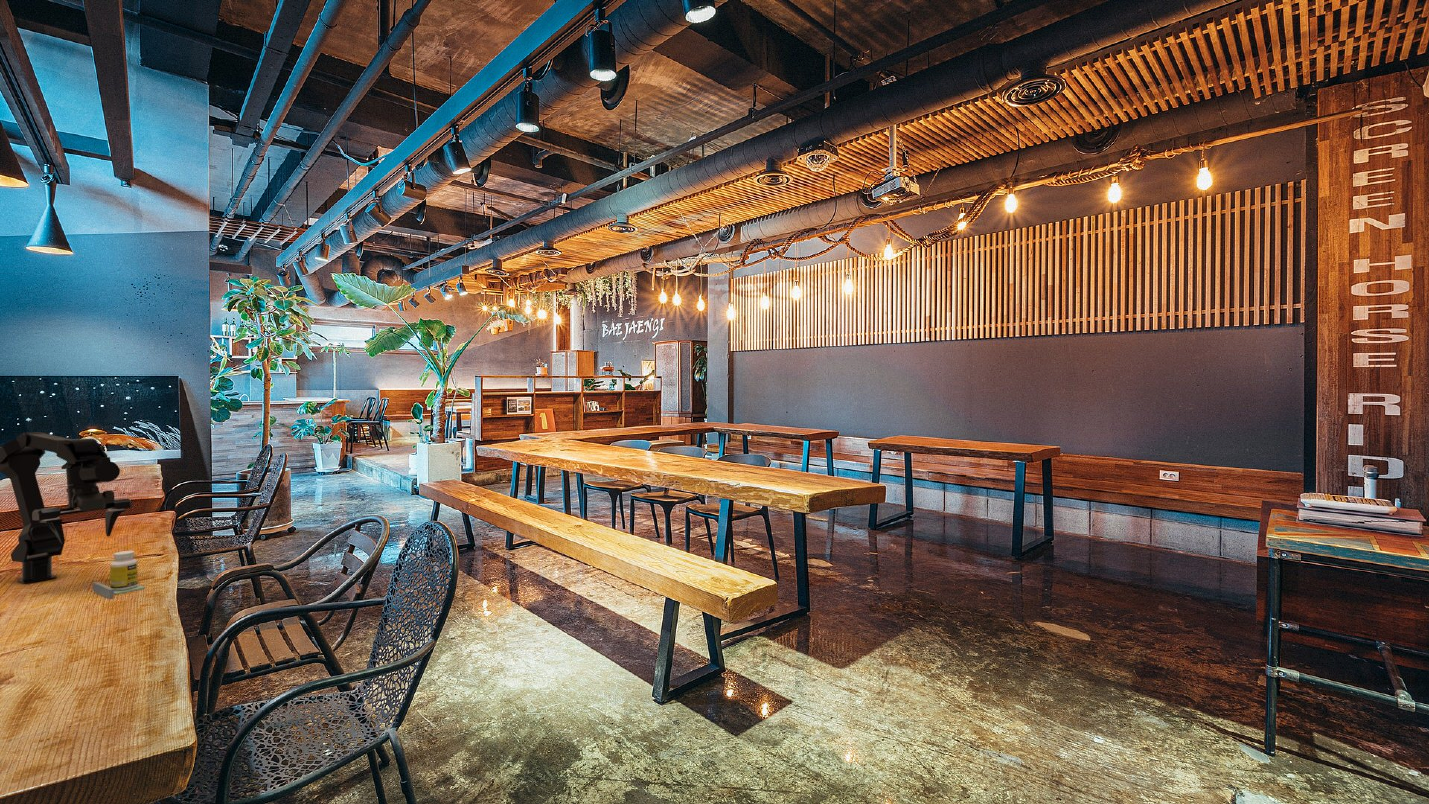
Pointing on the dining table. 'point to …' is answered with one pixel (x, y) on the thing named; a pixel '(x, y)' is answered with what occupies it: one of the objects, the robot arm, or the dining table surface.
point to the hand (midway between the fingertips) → (86, 539)
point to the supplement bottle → (123, 571)
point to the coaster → (129, 590)
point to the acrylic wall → (103, 590)
